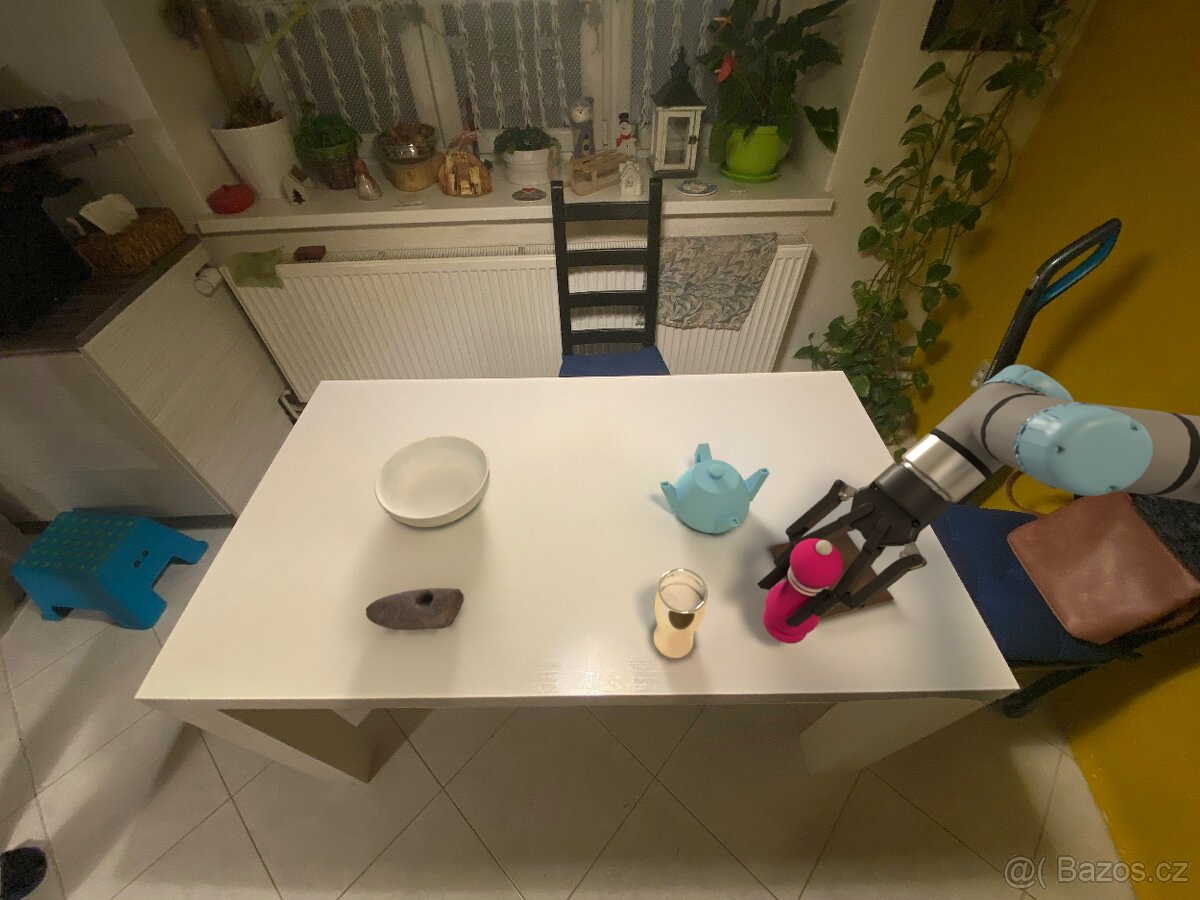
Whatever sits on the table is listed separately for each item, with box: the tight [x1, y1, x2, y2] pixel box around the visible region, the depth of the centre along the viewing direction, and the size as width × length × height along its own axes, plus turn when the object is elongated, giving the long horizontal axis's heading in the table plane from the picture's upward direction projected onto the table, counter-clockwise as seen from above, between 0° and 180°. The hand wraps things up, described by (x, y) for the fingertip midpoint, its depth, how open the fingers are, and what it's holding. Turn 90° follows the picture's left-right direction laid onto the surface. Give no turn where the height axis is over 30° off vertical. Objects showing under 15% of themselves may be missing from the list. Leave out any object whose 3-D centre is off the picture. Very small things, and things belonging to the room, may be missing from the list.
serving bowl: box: [373, 434, 491, 528], centre depth 96 cm, size 21×21×7 cm
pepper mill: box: [762, 539, 843, 645], centre depth 66 cm, size 7×7×20 cm
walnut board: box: [770, 532, 895, 622], centre depth 85 cm, size 14×14×1 cm
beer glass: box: [653, 567, 709, 659], centre depth 73 cm, size 7×7×15 cm
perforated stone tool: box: [365, 587, 464, 630], centre depth 78 cm, size 15×5×7 cm, turn 92°
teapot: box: [659, 442, 770, 534], centre depth 92 cm, size 15×15×11 cm
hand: (776, 604), depth 66 cm, fingers closed on pepper mill, 5 cm apart
